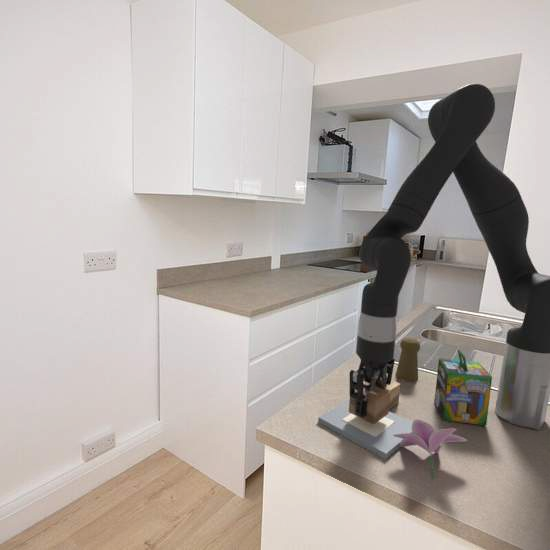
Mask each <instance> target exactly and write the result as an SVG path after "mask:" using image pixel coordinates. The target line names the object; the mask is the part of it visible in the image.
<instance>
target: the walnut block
mask: <svg viewBox="0 0 550 550" xmlns="http://www.w3.org/2000/svg"><path fill="white" fill-rule="evenodd" d="M363 384H366V385H369V384H370V383H367V382H365V381H364V382H363ZM355 391H356V389H355ZM364 393H365V388H363V394H364ZM390 395H391V392H390V391H387V390H385V389H382V388H380V387H377V386H375V385H374V388H373V390H372V391H370V393H369V396H368V399H367V411H366V416H365V417H363V418H362V417H360V416H358V415H356V413H355V407H356V399H354V398H352V397H350V396H349V399H350V402H349V413H351V414H353V415H355V416H357V417H360V418H362V419H364V420H366V421H368V422H370V423H372V424H375V423H376V422H378V421H379V420H381V419H382V418H383V417H385V416H386V415H388V414H389V412H390V409H389V404H390Z"/></svg>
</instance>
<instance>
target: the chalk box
mask: <svg viewBox="0 0 550 550" xmlns="http://www.w3.org/2000/svg"><path fill="white" fill-rule="evenodd" d="M457 353H458V358H459V359H455V358H451V359H450V358H443V357H441V358H439V359H438V364H437V365H438V366H437V377H436V382H435V384H436V386H435V393H434V398H433V399H434V400H433V401H434V404H435V406H436V409H437V410H438V412H439V415H440V417H441V419H442V421H449V422H453V423H454V422H456V423H465V424H472V425H480V426H487V423H488V415H489V405H490V398H491V391H492V380H493V375H491V374H490V373H489V372H488V370H487V369H485V367H483V365H482V364H481V363H479V362H478V361H472V360H471V361H470V360H466V357H465V354H464V353H463V352H462V351H461V350H460V349H459V348H458V349H457Z"/></svg>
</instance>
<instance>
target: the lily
mask: <svg viewBox="0 0 550 550" xmlns="http://www.w3.org/2000/svg"><path fill="white" fill-rule="evenodd" d="M412 422H413V424H412V433H413V434H412V433H404V434H396V435H393V436H395V437H399V438H402V439H405V440H404V441H403V442H402V443H401V445H400V446H401V447H400V448H406V447H412V446H419V447H420V448H422V449H423V450H425V451H426V452H427V453H429V460H430V469H431V478H432V479H435V472H434V463H433V453H435V454H439V453H440V452H441V448H442V444H445V443H455V442H458V443H459V442H467V441H468V439H466V438H464V437H462V436H459V435H458V434H457V435H456V434H453V433H454V432H455V431H457V428H453V427H452V428H444V429H442V428H441V429H438V430H436V429H435V427H434V426H432V425H431V424H430V423H429V422H426V421H424V420H423V419H422V420H421V419H414V421H412Z"/></svg>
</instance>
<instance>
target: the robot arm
mask: <svg viewBox="0 0 550 550" xmlns="http://www.w3.org/2000/svg"><path fill="white" fill-rule="evenodd" d="M491 91H492V90H491V89H489V88H488V87H487V86H486V85H484V84H481V83H469V84H466V85H463V86H462V87H459V88H457V89H456V90H454V91H452V92H451V93H449V94H447V95H446V96H444V97H443V98H440V99H439V100H437V101H436V102H435V103H434V104H433V105H432V106H431V108H430V110H429V112H428V116H427V124H428V129H429V132H430V134H431V138H432V139H433V140H434V144H433V146H432V147H431V148H430V149H429V150H428V152H427V154H426V155H425V156H424V157H423V158H422V160H421V161H420V162H419V163H418V164H417V165H416V167H415V168H414V169H413V170H412V171H411V172H410V174H409V175H408V176H407V177H406V179H405V180H404V182H403V183H402V184H401V186H400V188H399V189H398V191H397V193H396V195H395V197H394V198H393V200H392V202H391V203H390V205H389V207H388V209H387V211H386V213H384V215H382V217H381V218H380V219H379V220H378V221H377V222H376V224H375V225H373V226H372V228H371V229H370V230H369V232H368V233H367V234H366V235H365V237H364V238H363V240H362V243H361V245H360V249H359V253H358V254H359V259H360V262H361V264H362V266H364V267H365V268H367V269H370V270H372V271H376V275H375V277H374V280H373V282H369V283H366V285H364V287H363V289H362V295H361V304H360V305H361V306H360V314H359V318H358V324H357V325H358V326H357V337H356V345H355V346H356V347H355V354H356V355H357V356H358V358H359V359H360V363H359V365H358V369H357V370H354V369H351V370H350V371H349V398H350V397H352V398H354V399H356V407H355V413H356V415H358V416H360V417H362V418H363V417H365V416H366V411H367V399H368V396H369V393H370V391H372V390H373V388H374V385H375V386H377V387H380V388H382V389H385V390H386V387H387V384H388V385H390V383H391V380H392V379H393V372H394V366H395V362H396V359H395V357H394V355H395V345H396V339H397V338H396V337H397V329H398V328H397V326H398V325H397V323H398V322H397V317H398V316H397V314H398V306H399V305H398V304H399V296H400V294H401V293H400V292H401V290H402V288H403V286H404V283H405V281H406V278H407V275H408V273H409V270H410V267H411V263H412V255H411V254H412V253H411V249H410V246H409V245H408V243H407V242H406V241H405V240H404V239H402V238H403V237H404V236H406V235H409V234H414V233H416V232H417V231H418V230H419V229H420V228H421V227H422V224H423V223H424V222H425V219H426V217H427V216H428V213H429V212H430V210H431V208H432V206H433V205H434V203H435V201H436V199H437V197H438V196H439V194H440V193H441V190H442V189H443V188H444V186H445V185H446V183H447V182H448V179H449V178H450V177H451V176H452V174H453V175H454V177H455V179H456V181H457V183H458V185H459V188H460V190H461V192H462V195H463V196H464V198H465V201H466V202H467V204H468V205H467V206H468V207H469V210H470V212H471V215H472V216H473V219H474V221H475V224H476V226H477V227H478V229H479V232H480V234H481V236H482V238H483V240H484V242H485V244H486V247H487V249H488V251H489V253H490V256H491V258H492V259H493V262H494V264H495V267H496V270H497V274H498V277H499V281H500V284H501V287H502V290H503V293H504V296H505V299H506V301H507V302H508V303H509V305H510V306H511V307H512V308H513V309H515V310H517V311H518V312H520V313H523V314H524V317H523V322H522V325H521V326H520V327H512V328H509V329H508V331H507V333H506V338H505V345H504V352H503V359H502V363H501V364H502V365H501V371H500V376H499V377H500V378H499V382H498V390H497V396H496V402H495V408H494V410H495V413H496V414H497V416H498V417H499V418H501V419H503V420H504V421H506V422H508V423H510V424H513V425H516V426H519V427H522V428H523V427H524V428H528V429H529V428H531V429H535V430H538V431H540V430H541V428H542V427H543V425H544V424H545V421H546V417H547V412H548V411H547V410H548V405H549V400H550V275H547V274H542V273H539V272H538V271H537V269H536V267H535V265H534V264H533V261H532V259H531V258H530V256H529V255H530V254H529V252H528V248H527V239H528V234H529V233H528V232H529V224H530V223H529V222H530V221H529V219H530V218H529V213H528V210H527V207H526V205H525V203H524V200H523V198H522V195H521V194H520V193H521V192H520V190H519V189H518V187H517V186H516V184H515V182H514V181H512V180H511V178H510V177H508V176H507V175H506V174H505V173H504V172H503V171H501V169H499V168H498V167H497V166H496V165H494V164H493V163H492V162H491V161H490V160H488V158H486V156H485V154H483V152H482V151H481V148H480V147H479V145H478V143H477V140H478V139H479V137H481V135H482V134H483V132H484V131H485V130H486V129H487V127H488V126H489V125H490V123H491V122H492V119H493V117H494V115H495V110H496V100H495V97H494V94H493V93H492V92H491ZM365 382H367V383H370V384H369V385H366V384H363V383H365ZM363 388H365V393H364V394H363ZM355 389H356V391H355Z"/></svg>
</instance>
